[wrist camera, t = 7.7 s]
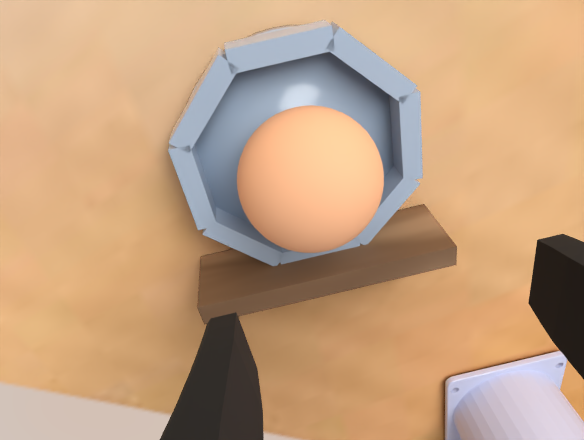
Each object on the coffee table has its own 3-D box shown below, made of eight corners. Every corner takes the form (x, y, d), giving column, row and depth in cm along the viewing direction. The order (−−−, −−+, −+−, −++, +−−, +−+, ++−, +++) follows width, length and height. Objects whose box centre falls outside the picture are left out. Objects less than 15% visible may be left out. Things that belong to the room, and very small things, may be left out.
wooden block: (424, 221, 22) (456, 264, 19) (206, 272, 22) (204, 324, 19) (424, 204, 21) (456, 246, 18) (200, 256, 21) (197, 307, 18)
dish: (408, 211, 21) (424, 234, 20) (218, 256, 21) (217, 283, 19) (397, -2, 16) (417, 5, 14) (146, 56, 16) (138, 70, 14)
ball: (365, 191, 19) (410, 261, 15) (250, 220, 19) (263, 299, 15) (351, 73, 17) (402, 117, 12) (217, 105, 16) (221, 162, 12)
